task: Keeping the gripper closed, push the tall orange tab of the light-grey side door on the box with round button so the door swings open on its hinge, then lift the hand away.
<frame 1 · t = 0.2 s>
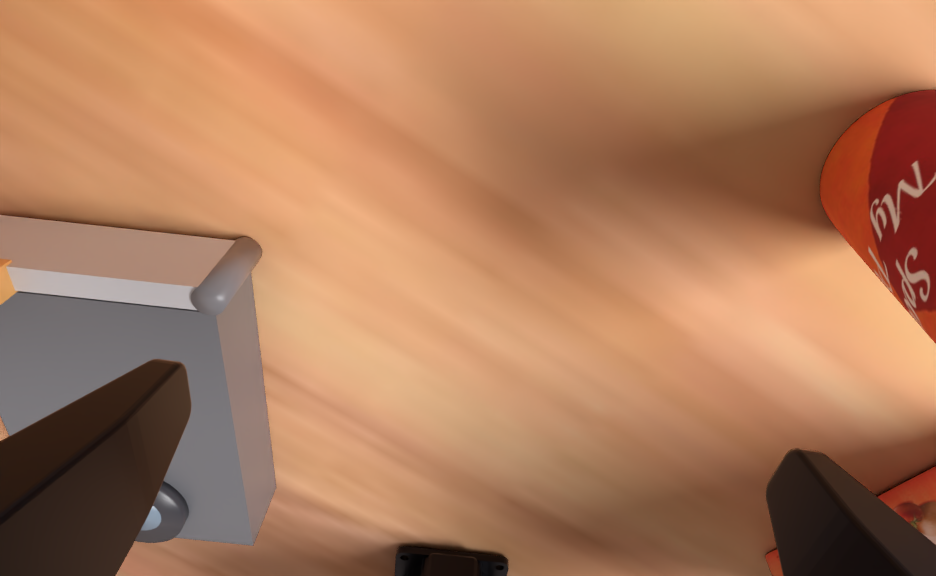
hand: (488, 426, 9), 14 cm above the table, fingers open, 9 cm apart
box with round button: (160, 380, 28), on the table
cracker box: (900, 511, 31), on the table
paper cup: (899, 167, 21), on the table
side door: (62, 297, 20), point 5 cm above the table, hinge at 0.0°
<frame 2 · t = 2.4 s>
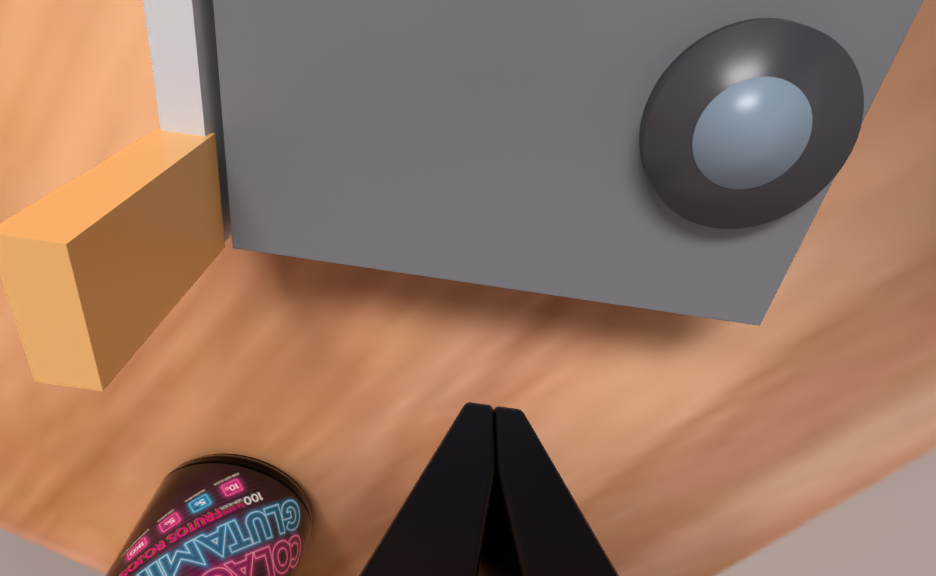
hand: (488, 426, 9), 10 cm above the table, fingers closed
supplement container: (243, 495, 26), on the table
box with round button: (532, 62, 16), on the table
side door: (151, 29, 11), point 5 cm above the table, hinge at 0.0°
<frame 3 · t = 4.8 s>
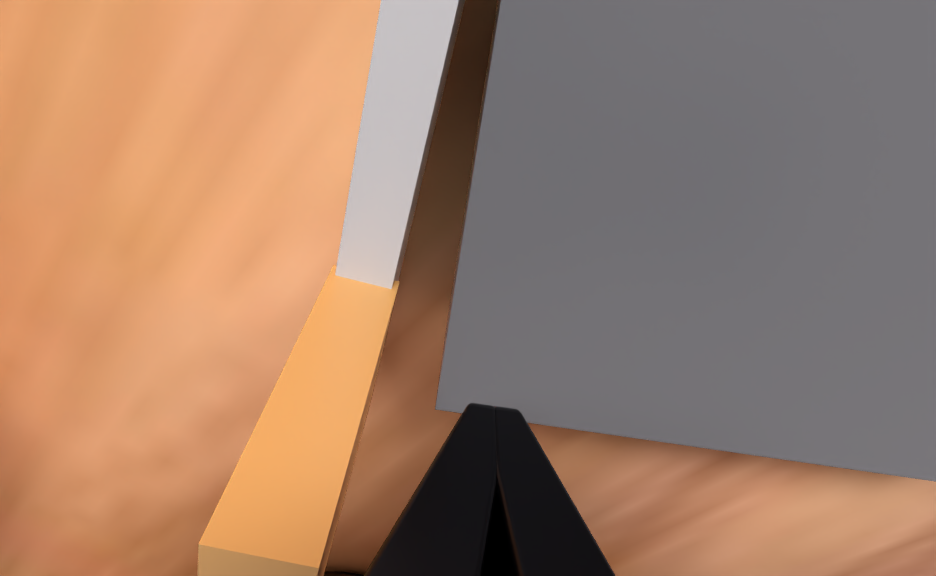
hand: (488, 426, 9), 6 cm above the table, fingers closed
box with round button: (798, 174, 13), on the table
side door: (379, 178, 8), point 5 cm above the table, hinge at 6.5°, touching gripper
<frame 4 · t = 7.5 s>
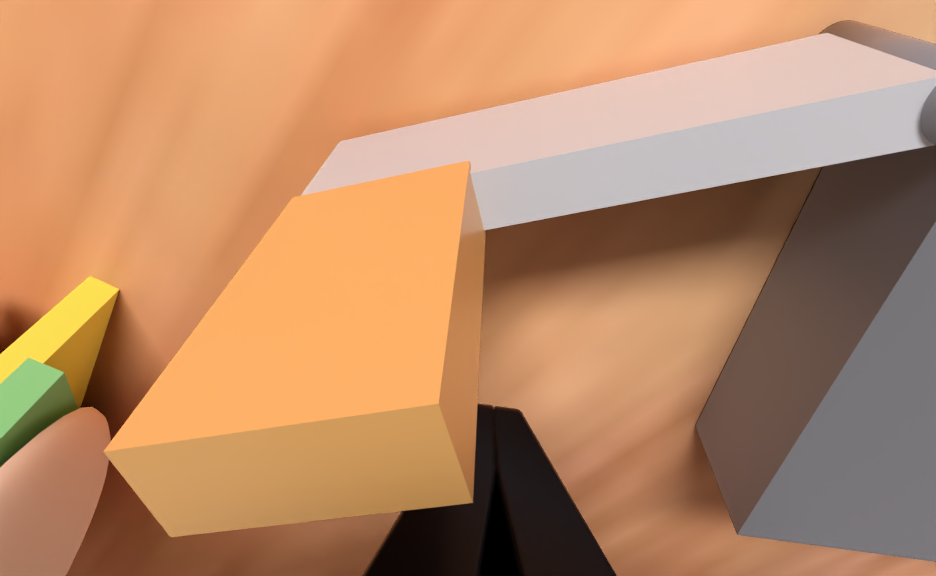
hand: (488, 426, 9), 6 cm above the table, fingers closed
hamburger: (13, 398, 18), on the table
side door: (634, 192, 8), point 5 cm above the table, hinge at 68.5°, touching gripper
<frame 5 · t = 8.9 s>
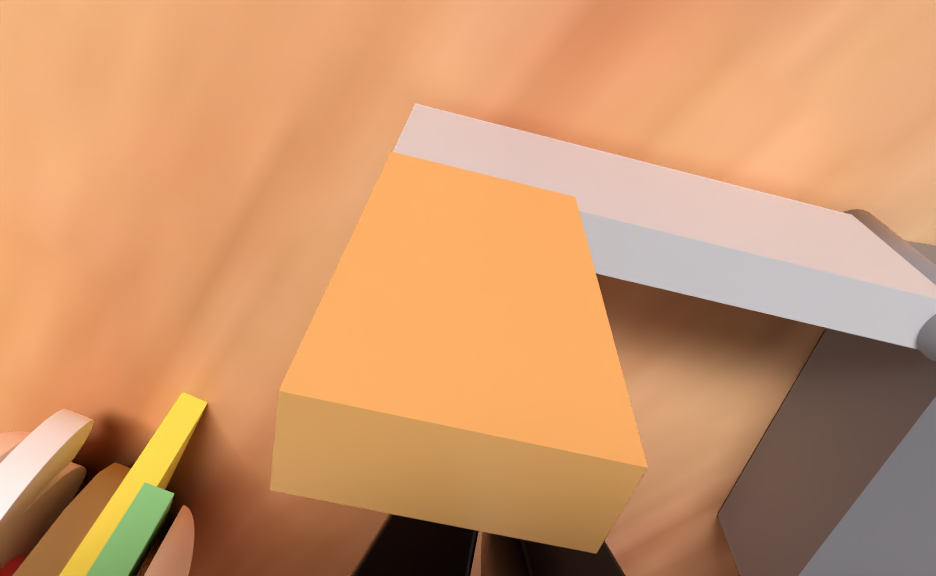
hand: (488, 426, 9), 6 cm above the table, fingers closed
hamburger: (101, 486, 20), on the table
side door: (712, 294, 9), point 5 cm above the table, hinge at 95.3°, touching gripper
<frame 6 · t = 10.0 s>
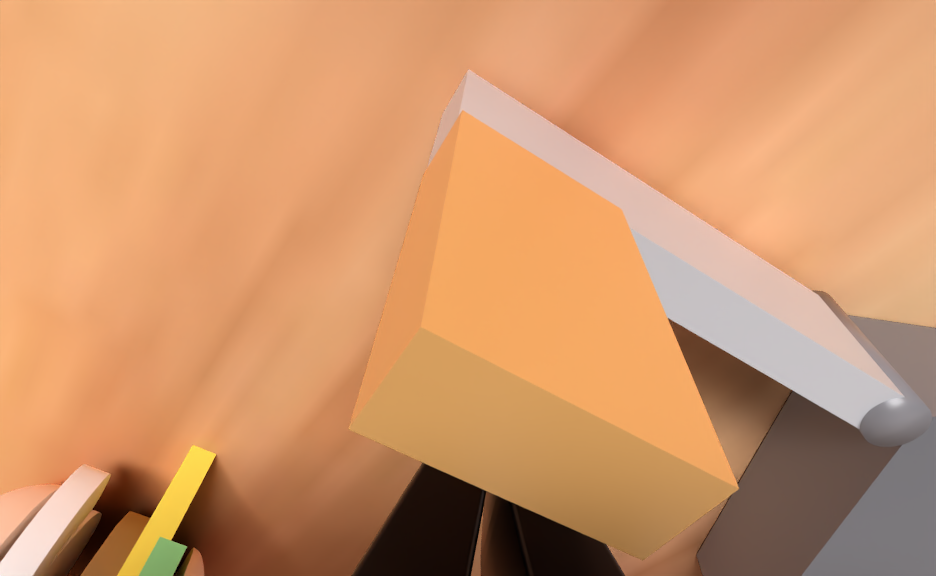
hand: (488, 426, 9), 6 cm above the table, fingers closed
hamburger: (114, 527, 21), on the table
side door: (722, 336, 9), point 5 cm above the table, hinge at 113.2°, touching gripper
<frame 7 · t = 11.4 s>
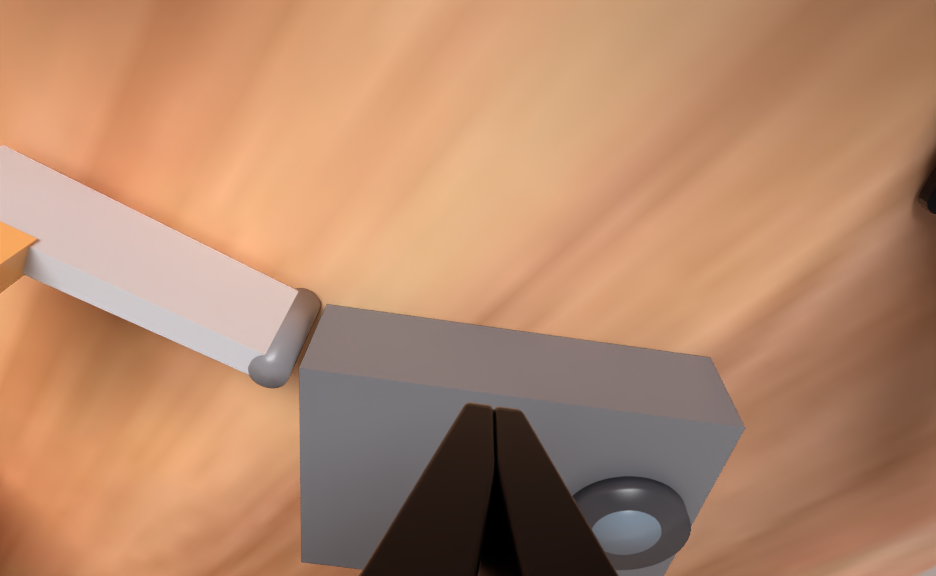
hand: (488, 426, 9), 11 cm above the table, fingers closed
box with round button: (497, 429, 24), on the table
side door: (96, 314, 16), point 5 cm above the table, hinge at 113.3°
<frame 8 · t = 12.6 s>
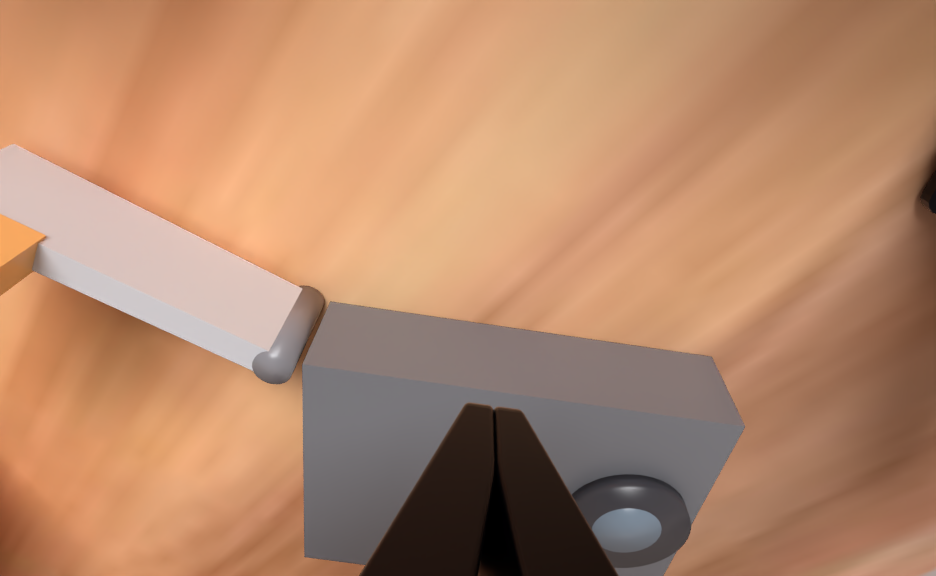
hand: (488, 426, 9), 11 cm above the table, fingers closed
box with round button: (499, 427, 24), on the table
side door: (103, 310, 16), point 5 cm above the table, hinge at 113.3°
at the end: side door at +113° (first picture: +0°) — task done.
